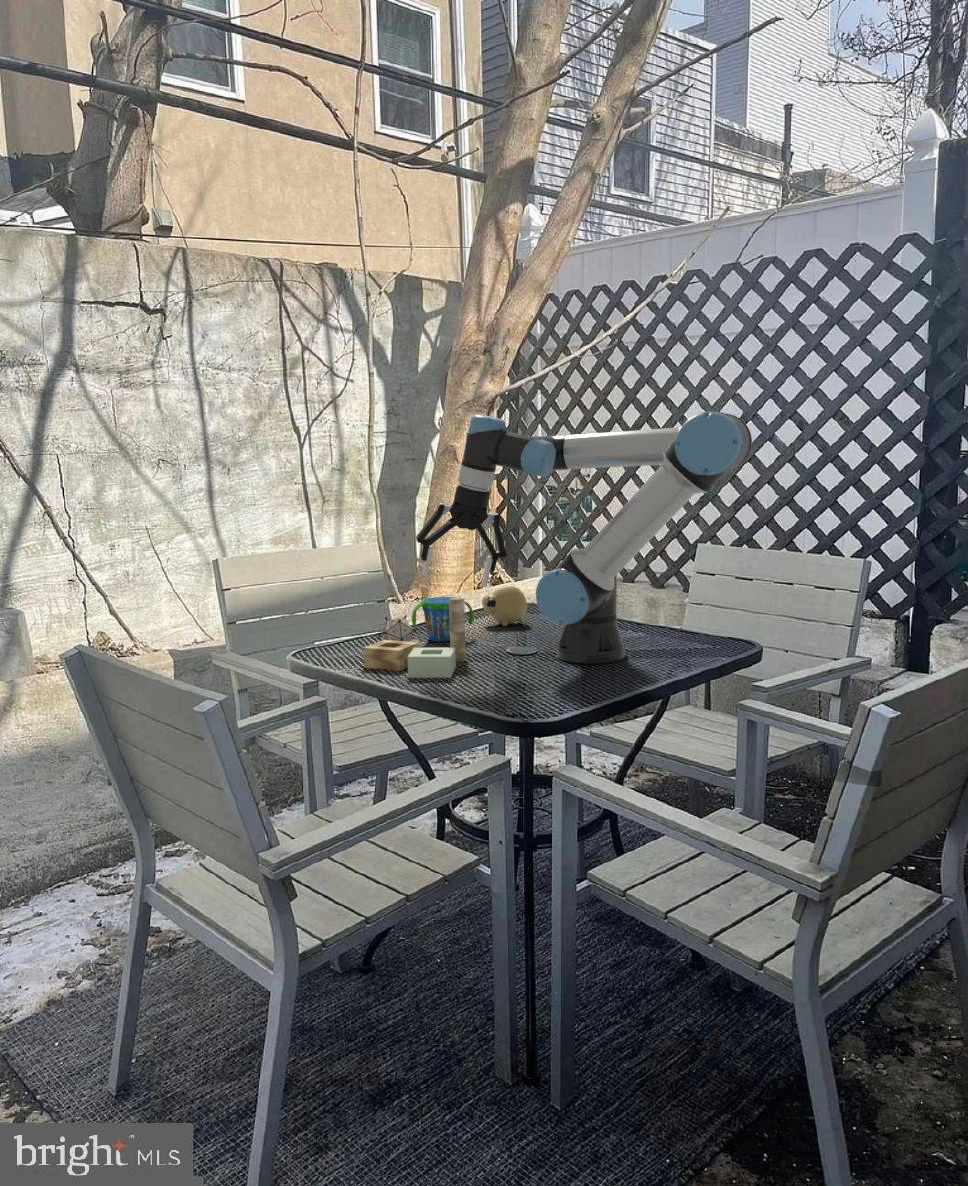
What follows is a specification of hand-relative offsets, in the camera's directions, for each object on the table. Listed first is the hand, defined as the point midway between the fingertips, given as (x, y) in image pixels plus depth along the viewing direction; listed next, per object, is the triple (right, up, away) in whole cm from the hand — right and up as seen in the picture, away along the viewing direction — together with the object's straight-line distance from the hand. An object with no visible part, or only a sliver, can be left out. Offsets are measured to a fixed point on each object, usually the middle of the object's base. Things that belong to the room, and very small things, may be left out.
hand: (454, 580), depth 206 cm
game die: (-14, -17, +16) cm, 27 cm away
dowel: (+1, -18, +3) cm, 18 cm away
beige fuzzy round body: (+12, -12, +44) cm, 47 cm away
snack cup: (-4, -15, +27) cm, 31 cm away
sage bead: (-4, -20, -8) cm, 22 cm away
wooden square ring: (-14, -19, 0) cm, 23 cm away
